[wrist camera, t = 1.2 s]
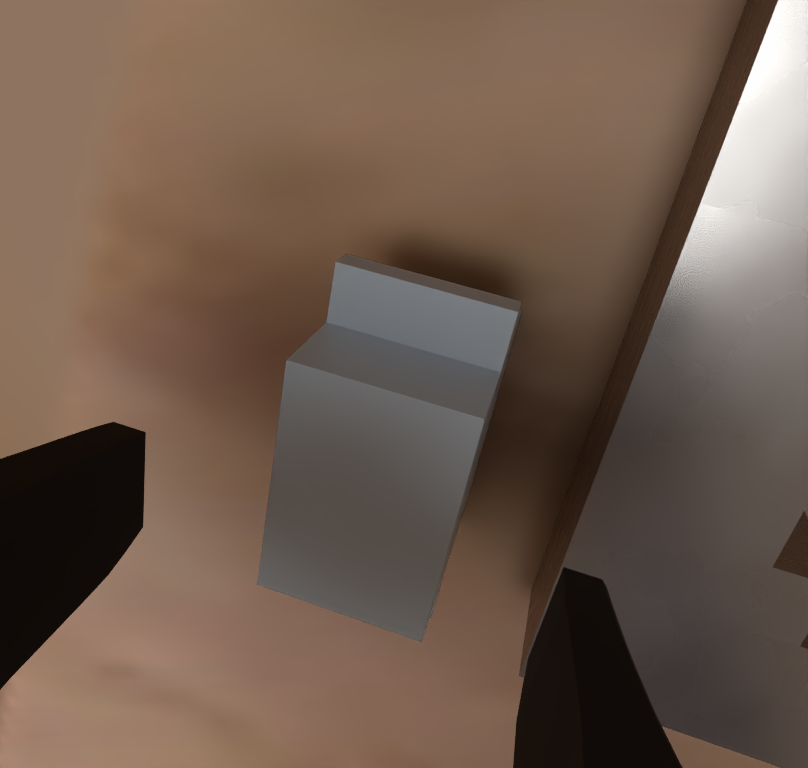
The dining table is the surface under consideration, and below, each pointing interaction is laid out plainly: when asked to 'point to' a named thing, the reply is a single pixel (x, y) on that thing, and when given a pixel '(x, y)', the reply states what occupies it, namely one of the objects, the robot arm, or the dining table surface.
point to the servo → (382, 442)
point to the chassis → (714, 425)
